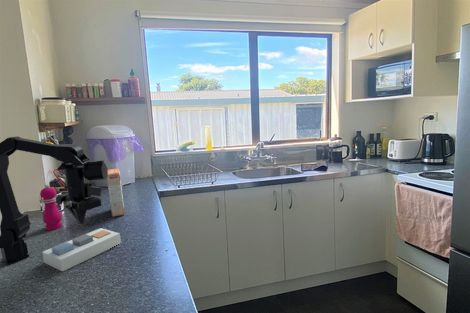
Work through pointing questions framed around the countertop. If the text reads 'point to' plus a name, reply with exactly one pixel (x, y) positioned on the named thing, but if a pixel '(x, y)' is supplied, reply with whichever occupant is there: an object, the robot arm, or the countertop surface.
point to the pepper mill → (50, 209)
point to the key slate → (62, 248)
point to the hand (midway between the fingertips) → (81, 223)
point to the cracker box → (115, 192)
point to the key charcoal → (82, 240)
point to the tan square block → (100, 234)
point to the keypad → (82, 251)
